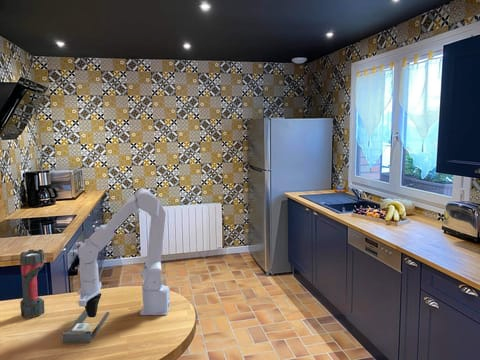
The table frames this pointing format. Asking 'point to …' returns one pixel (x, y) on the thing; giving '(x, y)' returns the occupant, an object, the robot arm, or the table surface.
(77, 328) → the block
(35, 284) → the flashlight
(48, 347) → the table surface
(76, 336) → the rail
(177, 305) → the table surface
